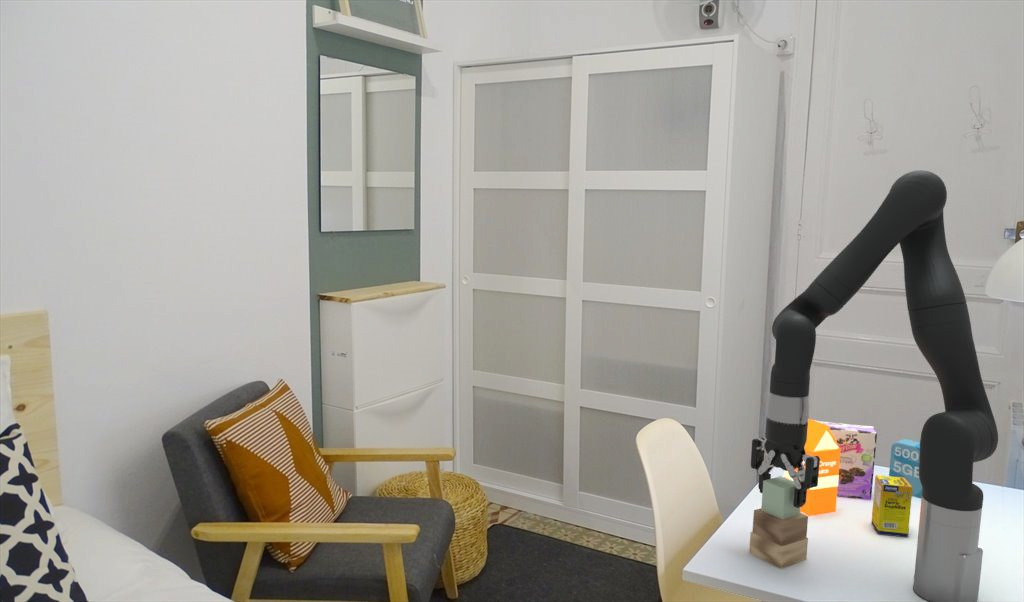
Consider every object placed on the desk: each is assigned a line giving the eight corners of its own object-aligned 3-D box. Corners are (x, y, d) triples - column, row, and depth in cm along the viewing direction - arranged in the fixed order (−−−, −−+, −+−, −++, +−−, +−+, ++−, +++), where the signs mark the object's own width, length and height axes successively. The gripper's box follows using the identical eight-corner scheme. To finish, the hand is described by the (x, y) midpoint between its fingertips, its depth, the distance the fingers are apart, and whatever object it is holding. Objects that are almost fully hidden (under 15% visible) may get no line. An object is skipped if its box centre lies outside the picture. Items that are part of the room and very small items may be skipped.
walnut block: (806, 538, 150) (808, 516, 150) (781, 546, 147) (783, 523, 146) (777, 525, 156) (778, 503, 156) (752, 532, 153) (753, 510, 152)
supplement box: (908, 537, 163) (913, 486, 161) (877, 534, 164) (882, 484, 162) (900, 526, 168) (905, 477, 167) (870, 523, 170) (875, 474, 168)
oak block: (806, 560, 151) (807, 537, 151) (781, 569, 147) (782, 546, 147) (774, 545, 158) (775, 524, 157) (749, 554, 154) (750, 532, 153)
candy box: (808, 493, 186) (813, 425, 184) (806, 484, 192) (811, 419, 190) (871, 500, 182) (877, 432, 180) (868, 492, 188) (874, 425, 186)
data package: (887, 488, 191) (891, 440, 189) (895, 484, 194) (900, 437, 192) (939, 503, 182) (944, 453, 180) (947, 499, 184) (952, 450, 183)
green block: (799, 514, 151) (802, 484, 150) (782, 519, 148) (784, 489, 147) (778, 505, 155) (780, 476, 154) (761, 510, 152) (763, 480, 151)
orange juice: (808, 497, 183) (814, 414, 181) (836, 511, 175) (843, 424, 173) (781, 501, 181) (787, 416, 178) (808, 516, 172) (815, 427, 170)
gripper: (744, 410, 153) (738, 491, 155) (806, 429, 141) (800, 516, 143) (769, 405, 157) (764, 484, 159) (832, 423, 145) (826, 508, 147)
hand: (781, 499), depth 151 cm, fingers open, 7 cm apart
